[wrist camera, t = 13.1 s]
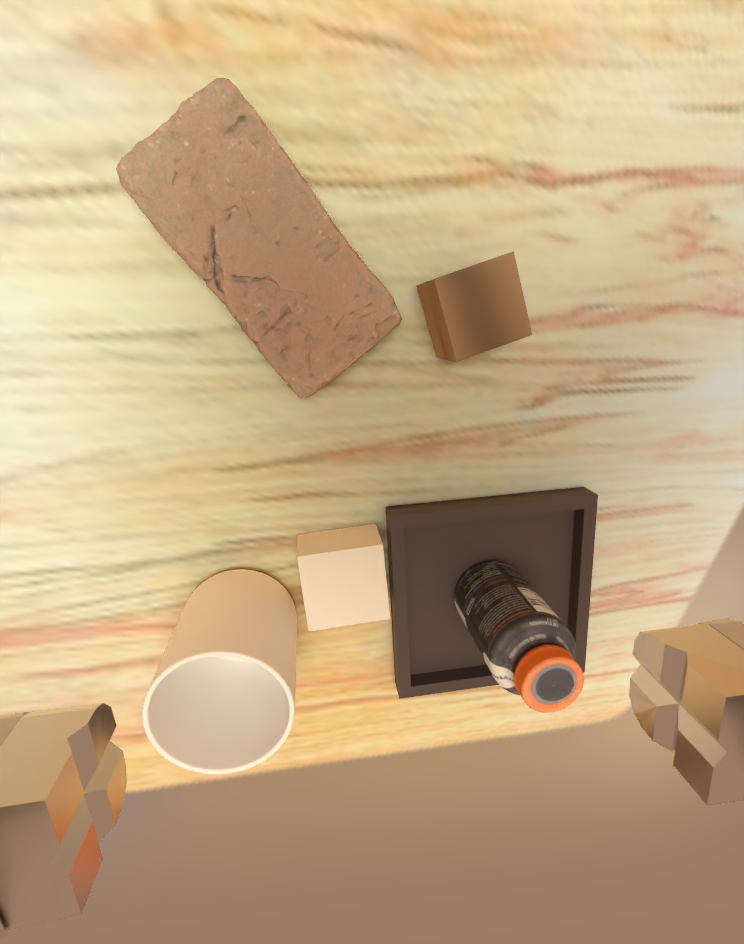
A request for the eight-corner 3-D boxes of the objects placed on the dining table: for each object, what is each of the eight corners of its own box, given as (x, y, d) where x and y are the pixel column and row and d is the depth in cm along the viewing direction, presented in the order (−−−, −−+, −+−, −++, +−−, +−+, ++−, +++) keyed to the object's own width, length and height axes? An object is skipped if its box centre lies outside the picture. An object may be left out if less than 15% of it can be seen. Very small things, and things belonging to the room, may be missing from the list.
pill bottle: (454, 629, 41) (507, 736, 31) (450, 564, 40) (505, 653, 29) (523, 617, 42) (599, 718, 31) (523, 553, 40) (602, 637, 29)
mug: (136, 655, 39) (75, 771, 29) (231, 543, 37) (203, 625, 27) (226, 707, 41) (201, 832, 31) (319, 605, 40) (324, 701, 30)
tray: (583, 487, 40) (597, 495, 38) (572, 657, 44) (584, 672, 43) (385, 507, 38) (389, 516, 36) (395, 682, 43) (399, 698, 41)
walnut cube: (484, 261, 34) (513, 251, 29) (501, 333, 36) (531, 334, 31) (416, 285, 34) (434, 279, 29) (436, 356, 36) (456, 361, 31)
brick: (128, 186, 31) (97, 163, 26) (231, 92, 30) (218, 52, 25) (305, 396, 36) (305, 407, 31) (397, 320, 35) (410, 319, 30)
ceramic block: (375, 522, 39) (382, 544, 35) (382, 591, 40) (390, 618, 37) (297, 533, 38) (296, 556, 34) (308, 602, 40) (308, 631, 36)
